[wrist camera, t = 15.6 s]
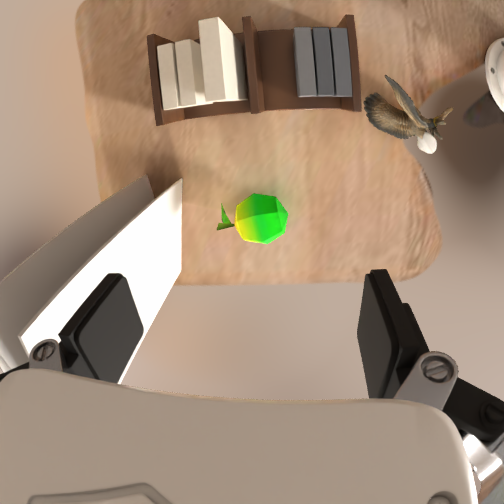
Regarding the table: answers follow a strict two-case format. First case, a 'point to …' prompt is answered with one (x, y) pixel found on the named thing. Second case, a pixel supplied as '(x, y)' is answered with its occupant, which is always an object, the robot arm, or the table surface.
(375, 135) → the table surface
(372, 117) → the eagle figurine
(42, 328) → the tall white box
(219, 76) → the white book
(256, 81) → the book rack
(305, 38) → the grey books
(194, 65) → the white books
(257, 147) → the table surface
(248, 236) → the apple
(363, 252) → the table surface
